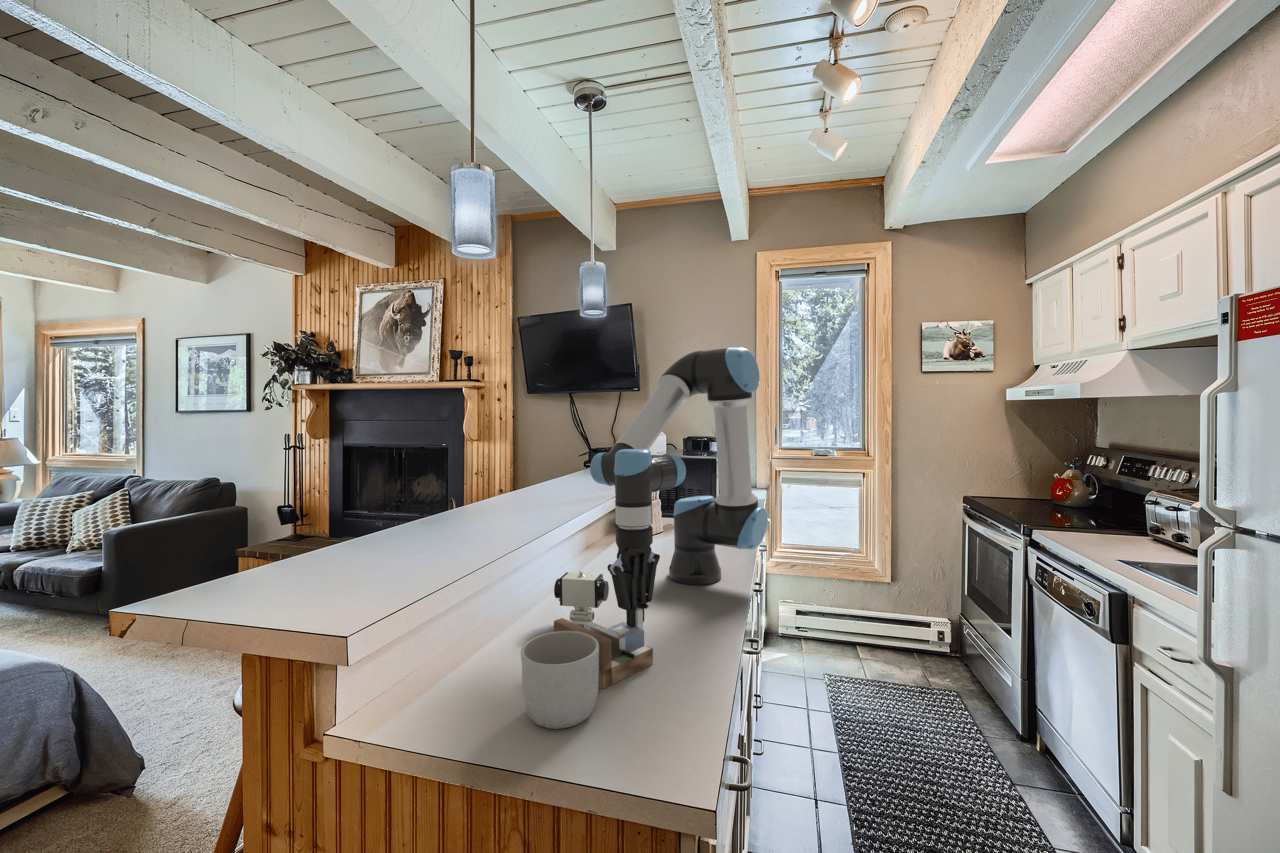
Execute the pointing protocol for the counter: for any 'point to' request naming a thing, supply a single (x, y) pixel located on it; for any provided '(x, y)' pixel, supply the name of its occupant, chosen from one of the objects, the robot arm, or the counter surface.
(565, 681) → the planter
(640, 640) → the blue block
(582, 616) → the pneumatic valve
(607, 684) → the gauge frame
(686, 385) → the robot arm
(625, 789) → the counter surface
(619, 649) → the grey flat panel
